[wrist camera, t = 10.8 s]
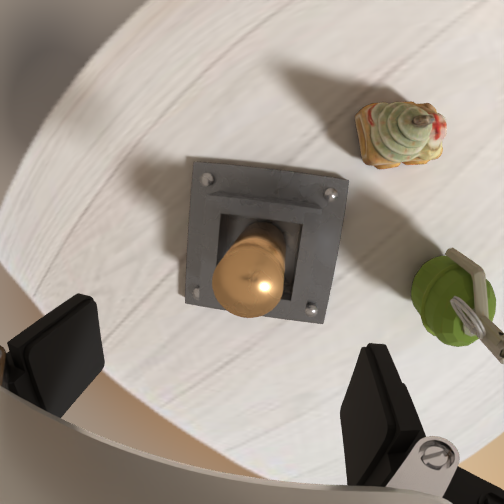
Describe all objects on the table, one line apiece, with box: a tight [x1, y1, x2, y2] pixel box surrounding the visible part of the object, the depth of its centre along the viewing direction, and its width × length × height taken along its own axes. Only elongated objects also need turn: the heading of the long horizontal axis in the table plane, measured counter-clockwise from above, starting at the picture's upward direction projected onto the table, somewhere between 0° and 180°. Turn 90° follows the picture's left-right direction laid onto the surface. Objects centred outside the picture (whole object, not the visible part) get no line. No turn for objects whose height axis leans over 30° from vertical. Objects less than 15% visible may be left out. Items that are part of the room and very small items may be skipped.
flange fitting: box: [185, 162, 349, 324], centre depth 27 cm, size 14×14×5 cm
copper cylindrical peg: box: [212, 222, 286, 318], centre depth 24 cm, size 4×4×10 cm
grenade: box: [411, 248, 504, 364], centre depth 21 cm, size 7×8×15 cm
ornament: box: [355, 102, 446, 169], centre depth 21 cm, size 8×6×10 cm
